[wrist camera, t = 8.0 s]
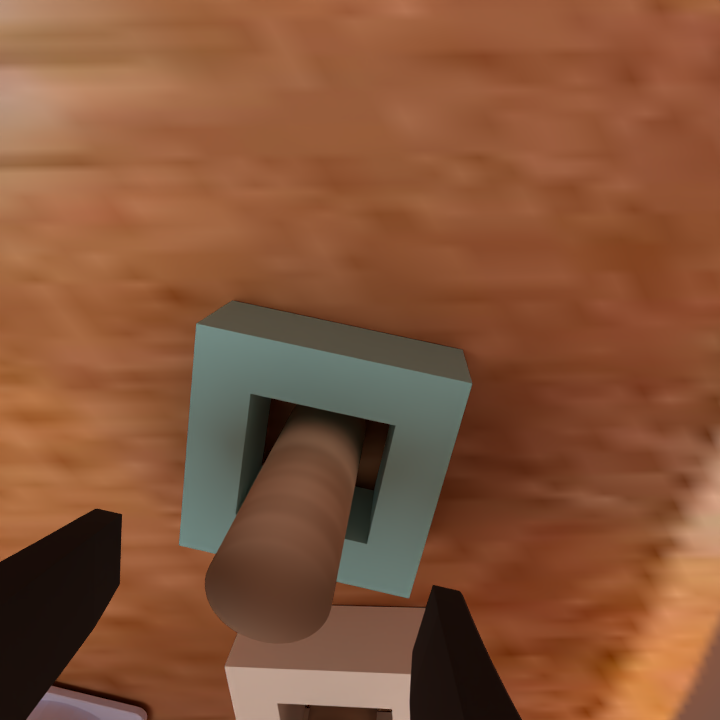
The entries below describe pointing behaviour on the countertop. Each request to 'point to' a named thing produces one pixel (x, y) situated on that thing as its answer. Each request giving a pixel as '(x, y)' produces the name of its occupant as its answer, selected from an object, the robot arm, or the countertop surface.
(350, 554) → the teal square frame block
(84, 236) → the countertop surface
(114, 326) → the countertop surface
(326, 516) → the maple dowel
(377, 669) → the white peg holder
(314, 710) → the walnut dowel
